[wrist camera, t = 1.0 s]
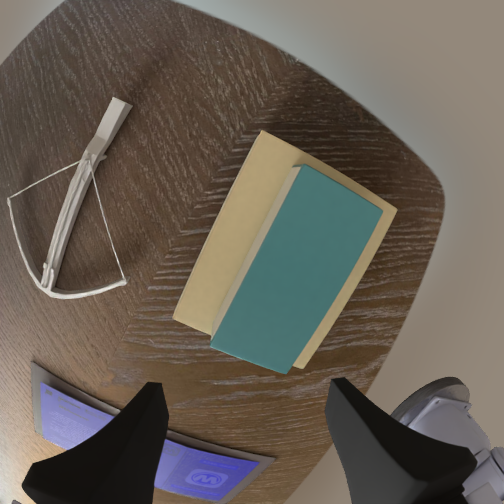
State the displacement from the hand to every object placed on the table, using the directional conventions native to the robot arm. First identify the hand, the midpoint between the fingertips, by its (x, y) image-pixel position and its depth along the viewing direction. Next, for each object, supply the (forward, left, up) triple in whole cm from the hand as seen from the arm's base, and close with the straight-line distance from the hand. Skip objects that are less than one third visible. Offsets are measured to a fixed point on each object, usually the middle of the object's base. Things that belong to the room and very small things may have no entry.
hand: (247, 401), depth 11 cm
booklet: (+2, +24, -10) cm, 26 cm away
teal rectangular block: (-1, -4, -8) cm, 9 cm away
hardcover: (-1, -4, -10) cm, 11 cm away
